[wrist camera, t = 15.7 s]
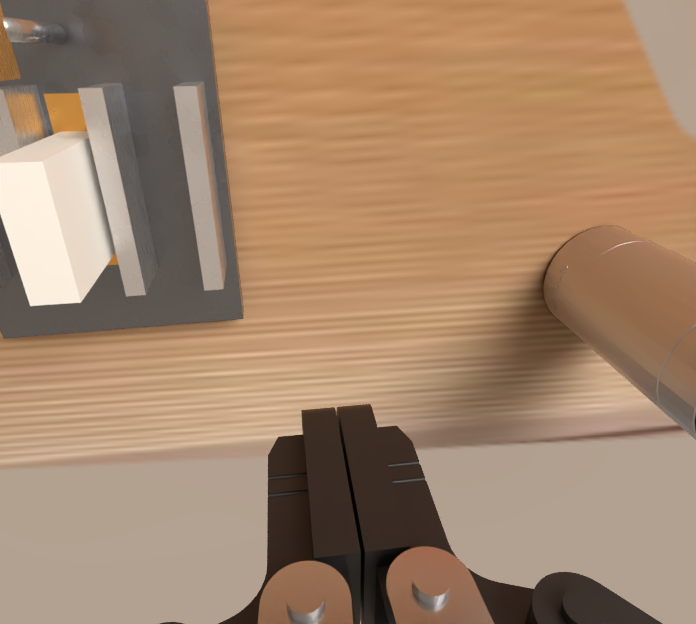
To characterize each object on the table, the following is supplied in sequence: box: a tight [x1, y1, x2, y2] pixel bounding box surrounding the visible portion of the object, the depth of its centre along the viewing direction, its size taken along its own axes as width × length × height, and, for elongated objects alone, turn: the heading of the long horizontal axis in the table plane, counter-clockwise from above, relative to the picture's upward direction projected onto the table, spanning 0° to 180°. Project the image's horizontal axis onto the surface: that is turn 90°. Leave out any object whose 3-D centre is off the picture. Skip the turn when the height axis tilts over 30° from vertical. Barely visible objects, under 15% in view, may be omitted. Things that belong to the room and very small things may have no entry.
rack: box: [0, 0, 244, 338], centre depth 29 cm, size 17×21×12 cm
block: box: [0, 131, 116, 306], centre depth 28 cm, size 2×7×10 cm, turn 0°
